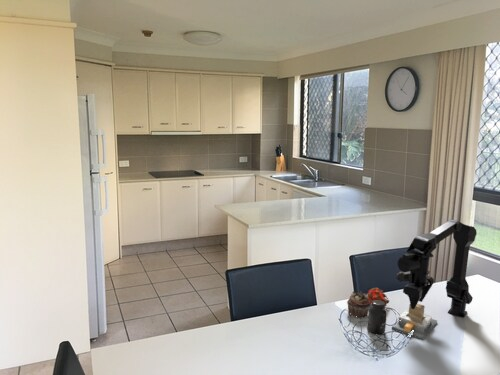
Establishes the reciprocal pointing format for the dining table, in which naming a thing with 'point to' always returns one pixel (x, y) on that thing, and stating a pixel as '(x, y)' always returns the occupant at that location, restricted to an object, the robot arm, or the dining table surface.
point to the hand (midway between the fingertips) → (416, 305)
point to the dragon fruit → (377, 295)
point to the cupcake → (358, 304)
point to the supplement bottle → (377, 318)
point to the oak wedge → (417, 312)
